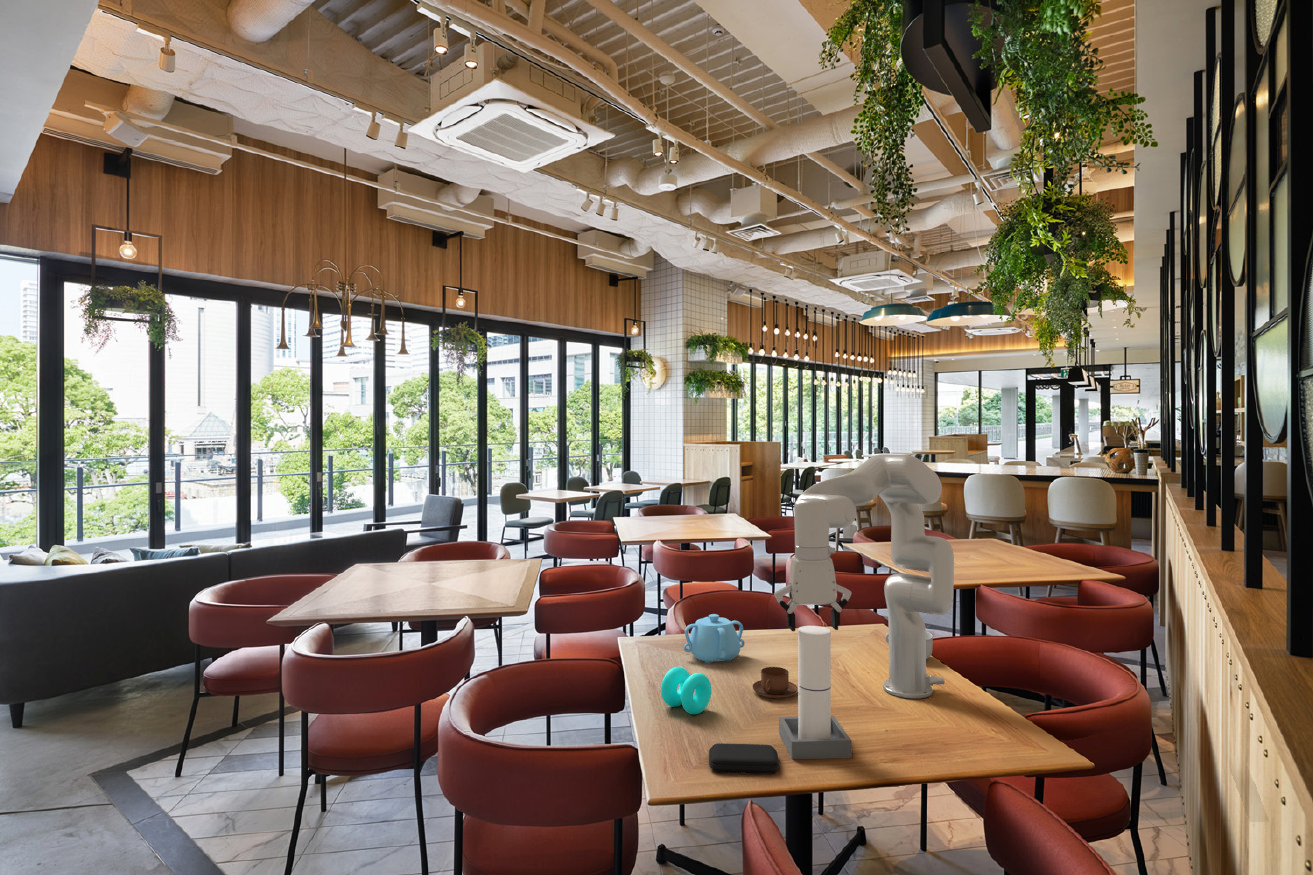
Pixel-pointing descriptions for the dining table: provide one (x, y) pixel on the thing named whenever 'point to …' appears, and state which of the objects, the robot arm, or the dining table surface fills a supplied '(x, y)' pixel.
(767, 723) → the dining table surface
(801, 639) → the cylindrical container
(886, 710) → the dining table surface
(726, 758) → the carrying case or bag
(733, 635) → the decorative pot
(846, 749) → the holder tray
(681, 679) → the turquoise double ring spool
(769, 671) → the cup and saucer
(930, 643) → the teacup
